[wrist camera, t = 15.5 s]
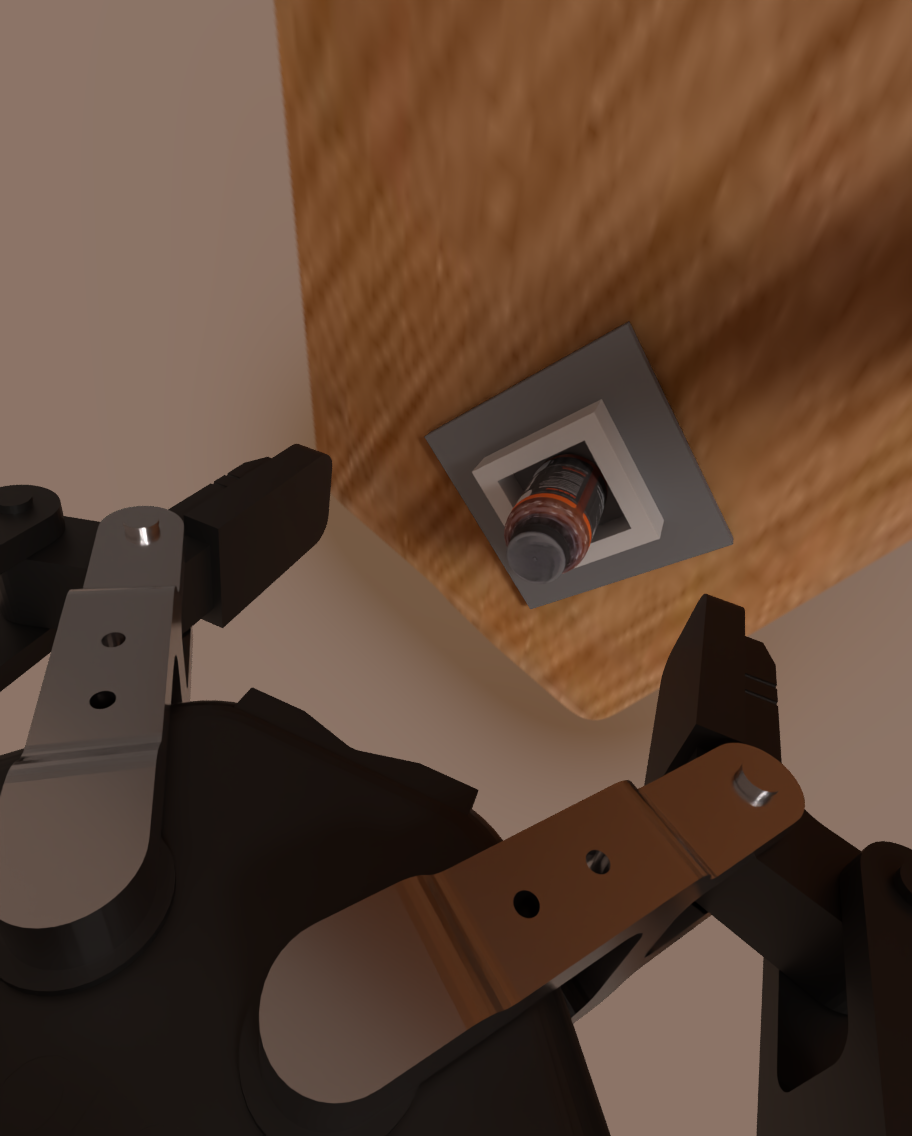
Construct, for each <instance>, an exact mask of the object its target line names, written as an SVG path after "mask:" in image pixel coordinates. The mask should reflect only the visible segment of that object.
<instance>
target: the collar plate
mask: <svg viewBox="0 0 912 1136" xmlns="http://www.w3.org/2000/svg"><path fill="white" fill-rule="evenodd" d="M425 438H426V440H427V442H428V443H429V445H430V447H431V448H432V450H433V451H434V453H435V455H436V456H437V458H438V460H439V461H440V463H441V464H442V466H443V468H444V469H445V471H446V473H447V474H448V476H449V477H450V479H451V481H452V482H453V484H454V486H455V487H456V489H457V490H458V492H459V494H460V495H461V497H462V499H463V500H464V502H465V504H466V505H467V507H468V508H469V510H470V512H471V513H472V515H473V517H474V518H475V520H476V521H477V523H478V525H479V526H480V528H481V530H482V531H483V533H484V534H485V536H486V538H487V539H488V541H489V543H490V544H491V546H492V547H493V549H494V551H495V552H496V554H497V556H498V557H499V559H500V560H501V562H502V564H503V565H504V567H505V569H506V570H507V572H508V573H509V575H510V577H511V578H512V580H513V582H514V583H515V585H516V586H517V588H518V590H519V591H520V593H521V595H522V596H523V598H524V599H525V601H526V603H527V604H528V606H529V608H530V609H533V608H536V607H539V606H542V605H545V604H549V603H552V602H555V601H558V600H561V599H564V598H567V597H570V596H573V595H577V594H580V593H583V592H586V591H589V590H592V589H595V588H598V587H601V586H605V585H608V584H611V583H614V582H617V581H620V580H623V579H626V578H630V577H633V576H636V575H639V574H642V573H645V572H648V571H651V570H654V569H658V568H661V567H664V566H667V565H670V564H673V563H676V562H679V561H682V560H686V559H689V558H692V557H695V556H698V555H701V554H704V553H707V552H710V551H714V550H717V549H720V548H723V547H726V546H729V545H732V544H733V536H732V534H731V532H730V530H729V528H728V526H727V524H726V522H725V520H724V518H723V516H722V513H721V511H720V509H719V507H718V505H717V503H716V501H715V499H714V497H713V495H712V493H711V491H710V488H709V486H708V484H707V482H706V480H705V478H704V476H703V474H702V472H701V470H700V468H699V466H698V463H697V461H696V459H695V457H694V455H693V453H692V451H691V449H690V447H689V445H688V443H687V441H686V439H685V436H684V434H683V432H682V430H681V428H680V426H679V424H678V422H677V420H676V418H675V416H674V414H673V411H672V409H671V407H670V405H669V403H668V401H667V399H666V397H665V395H664V393H663V391H662V389H661V386H660V384H659V382H658V380H657V378H656V376H655V374H654V372H653V370H652V368H651V366H650V364H649V361H648V359H647V357H646V355H645V353H644V351H643V349H642V347H641V345H640V343H639V341H638V339H637V336H636V334H635V332H634V330H633V328H632V326H631V324H630V322H627V323H625V324H623V325H621V326H620V327H618V328H616V329H614V330H612V331H611V332H609V333H607V334H605V335H603V336H602V337H600V338H598V339H596V340H594V341H593V342H591V343H589V344H587V345H586V346H584V347H582V348H580V349H578V350H577V351H575V352H573V353H571V354H569V355H568V356H566V357H564V358H562V359H560V360H559V361H557V362H555V363H553V364H551V365H550V366H548V367H546V368H544V369H543V370H541V371H539V372H537V373H535V374H534V375H532V376H530V377H528V378H526V379H525V380H523V381H521V382H519V383H517V384H516V385H514V386H512V387H510V388H509V389H507V390H505V391H503V392H501V393H500V394H498V395H496V396H494V397H492V398H491V399H489V400H487V401H485V402H483V403H482V404H480V405H478V406H476V407H474V408H473V409H471V410H469V411H467V412H466V413H464V414H462V415H460V416H458V417H457V418H455V419H453V420H451V421H449V422H448V423H446V424H444V425H442V426H440V427H439V428H437V429H435V430H433V431H431V432H430V433H428V434H427V435H426V436H425ZM563 454H573V455H578V456H582V457H584V458H586V459H588V460H590V461H592V462H593V463H594V464H595V465H596V466H597V467H598V468H599V469H600V470H601V472H602V474H603V476H604V478H605V480H606V482H607V488H608V492H607V500H606V504H605V507H604V509H603V512H602V515H601V517H600V520H599V522H598V525H597V528H596V530H595V533H594V536H593V538H592V541H591V544H590V546H589V549H588V551H587V553H586V555H585V557H584V558H583V560H582V561H581V562H580V564H579V565H577V566H576V567H575V568H574V569H572V570H570V571H568V572H566V573H563V574H561V575H560V576H559V577H558V578H557V579H556V580H554V581H553V582H550V583H546V584H533V583H529V582H527V581H524V580H522V579H521V578H519V577H518V576H517V575H516V574H515V573H514V572H513V571H512V570H511V568H510V567H509V565H508V562H507V558H506V550H507V546H506V543H505V538H504V529H505V524H506V521H507V519H508V516H509V514H510V513H511V511H512V509H513V507H514V506H515V504H516V503H517V501H518V500H519V498H520V496H521V495H522V494H523V492H524V491H525V489H526V487H527V485H528V484H529V482H530V480H531V479H532V477H533V476H534V474H535V473H536V471H537V470H538V469H539V468H540V466H541V465H542V464H543V463H544V462H546V461H547V460H549V459H551V458H553V457H555V456H558V455H563Z"/></svg>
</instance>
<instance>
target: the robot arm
mask: <svg viewBox="0 0 912 1136" xmlns="http://www.w3.org/2000/svg"><path fill="white" fill-rule="evenodd" d="M331 476H332V460H331V458H330V456H329V455H327V454H324V453H322V452H319V451H316V450H313V449H310V448H308V447H305V446H302V445H300V444H294V445H292V446H290V447H289V448H287V449H286V450H284V451H282V452H281V453H279V454H278V455H276V456H275V457H273V458H269V457H265V458H261V459H258V460H254V461H250V462H246V463H243V464H242V465H240V466H239V467H237V468H235V469H234V470H232V471H231V472H229V473H228V475H227V476H225V475H224V476H222V477H221V478H219V479H217V480H216V481H214V484H209V485H208V486H206V487H204V488H203V489H201V490H199V491H198V492H196V493H194V494H193V495H191V496H190V497H188V498H186V499H185V500H183V501H182V502H180V503H178V504H177V505H175V506H173V507H172V508H170V509H168V510H167V509H164V508H160V507H154V506H136V507H129V508H124V509H121V510H118V511H116V512H113V513H111V514H110V515H108V516H106V517H105V518H104V519H103V520H102V521H101V522H97V521H90V520H85V519H78V518H72V517H66V516H63V511H62V507H61V502H60V499H59V497H58V496H57V494H56V493H54V492H53V491H51V490H49V489H46V488H43V487H39V486H33V485H10V486H4V487H0V692H1V691H2V690H3V689H4V688H6V687H7V686H8V685H10V684H11V683H12V682H13V681H15V680H16V679H17V678H18V677H20V676H21V675H22V674H24V673H25V672H26V671H27V670H29V669H30V668H31V667H32V666H34V665H35V664H36V663H38V662H39V661H40V660H41V659H42V658H44V657H45V656H46V655H48V654H49V653H50V652H51V654H50V658H49V662H48V665H47V669H46V672H45V676H44V680H43V683H42V687H41V691H40V694H39V698H38V701H37V705H36V709H35V713H34V716H33V720H32V723H31V727H30V731H29V734H28V738H27V742H26V745H25V748H24V749H21V750H17V751H14V752H11V753H7V754H4V755H0V1136H611V1135H610V1132H609V1130H608V1126H607V1123H606V1120H605V1118H604V1115H603V1112H602V1109H601V1106H600V1103H599V1100H598V1097H597V1094H596V1091H595V1088H594V1085H593V1082H592V1079H591V1076H590V1073H589V1070H588V1067H587V1064H586V1062H585V1059H584V1055H583V1052H582V1049H581V1046H580V1044H579V1041H578V1037H577V1034H576V1031H575V1029H574V1026H573V1023H575V1022H576V1021H577V1020H579V1019H580V1018H581V1017H583V1016H584V1015H585V1014H587V1013H588V1012H589V1011H591V1010H592V1009H593V1008H594V1007H596V1006H597V1005H598V1004H600V1003H601V1002H602V1001H603V1000H604V999H605V998H607V997H608V996H609V995H610V994H611V993H612V992H614V991H615V990H616V989H617V988H618V987H619V986H620V985H621V984H622V983H623V982H624V981H625V980H626V979H627V978H629V977H630V976H631V975H632V974H633V973H634V972H636V971H637V970H638V969H639V968H641V967H642V966H643V965H645V964H646V963H648V962H649V961H650V960H652V959H653V958H654V957H655V956H657V955H658V954H660V953H661V952H662V951H664V950H665V949H666V948H668V947H669V946H670V945H672V944H673V943H674V942H676V941H677V940H679V939H680V938H681V937H683V936H684V935H685V934H687V933H688V932H689V931H691V930H692V929H693V928H695V927H696V926H697V925H698V924H700V923H701V922H703V921H704V920H705V919H707V918H708V917H710V916H711V915H713V916H714V917H715V918H716V919H718V920H719V921H720V922H721V923H723V924H724V925H725V926H726V927H727V928H729V929H730V930H731V931H732V932H734V933H735V934H736V935H737V936H739V937H740V938H741V939H742V940H743V941H745V942H746V943H747V944H748V945H750V946H751V947H752V948H753V949H754V950H756V951H757V952H758V953H759V954H761V955H762V956H763V957H764V961H763V988H762V1012H761V1037H760V1064H759V1066H760V1067H759V1088H758V1089H759V1090H758V1114H757V1136H912V850H911V849H909V848H907V847H905V846H902V845H899V844H896V843H892V842H885V841H881V842H875V843H872V844H870V845H868V846H867V847H866V848H865V849H863V850H862V851H860V850H858V849H857V848H856V847H854V846H853V845H851V844H850V843H848V842H847V841H845V840H844V839H842V838H841V837H839V836H838V835H836V834H835V833H834V832H832V831H831V830H829V829H828V828H826V827H825V826H824V825H822V824H821V823H820V822H818V821H817V820H816V819H815V818H813V817H812V816H811V815H810V814H809V813H808V812H807V811H806V810H805V809H804V808H805V800H804V796H803V792H802V790H801V788H800V785H799V784H798V782H797V781H796V779H795V778H794V776H793V775H792V774H791V772H790V771H789V770H788V769H787V768H786V767H785V766H784V765H783V764H782V762H781V747H780V731H779V714H778V706H777V702H778V698H777V689H776V685H777V681H776V666H775V663H774V661H773V659H772V658H771V656H770V655H769V652H768V651H767V649H766V647H765V645H764V644H763V643H762V642H760V641H757V640H754V639H752V638H749V637H746V636H745V609H744V608H743V607H741V606H738V605H735V604H733V603H730V602H727V601H724V600H722V599H719V598H716V597H713V596H711V595H708V594H704V595H703V596H702V597H701V598H700V600H699V601H698V603H697V605H696V607H695V609H694V611H693V612H692V614H691V616H690V618H689V620H688V622H687V623H686V625H685V627H684V629H683V631H682V633H681V635H680V636H679V638H678V640H677V642H676V644H675V646H674V648H673V649H672V651H671V653H670V656H669V658H668V660H667V663H666V665H665V668H664V671H663V675H662V679H661V684H660V690H659V696H658V703H657V709H656V715H655V721H654V728H653V734H652V741H651V747H650V753H649V760H648V766H647V772H646V778H645V785H644V786H643V787H641V788H639V789H637V788H636V787H635V786H634V784H633V783H632V782H631V781H629V780H625V781H621V782H618V783H616V784H613V785H612V786H610V787H607V788H605V789H604V790H602V791H600V792H598V793H596V794H594V795H592V796H590V797H588V798H586V799H584V800H582V801H580V802H578V803H576V804H574V805H572V806H570V807H568V808H566V809H565V810H562V811H560V812H559V813H557V814H555V815H553V816H551V817H549V818H547V819H545V820H543V821H541V822H539V823H537V824H535V825H533V826H531V827H529V828H527V829H525V830H523V831H521V832H519V833H517V834H516V835H514V836H512V837H510V838H508V839H506V840H504V841H503V840H502V839H501V837H500V836H499V835H498V834H497V832H496V831H495V830H494V829H493V828H492V827H491V826H490V825H489V824H488V823H487V822H486V821H485V820H484V819H483V818H482V817H481V816H480V815H479V814H477V813H476V812H475V811H474V810H472V807H473V804H474V802H475V799H476V796H477V793H478V790H477V789H475V788H473V787H471V786H469V785H466V784H464V783H462V782H460V781H457V780H455V779H453V778H451V777H449V776H447V775H444V774H442V773H440V772H437V771H435V770H433V769H431V768H429V767H427V766H424V765H422V764H420V763H415V762H411V761H406V760H401V759H396V758H392V757H386V756H382V755H377V754H372V753H367V752H362V751H358V750H355V749H353V748H351V747H349V746H348V745H346V744H345V743H344V742H343V741H341V740H340V739H339V738H338V737H336V736H335V735H334V734H333V733H331V732H330V731H329V730H327V729H326V728H325V727H324V726H323V725H321V724H320V723H319V722H318V721H316V720H315V719H314V718H313V717H311V716H310V715H309V714H307V713H306V712H305V711H303V710H301V709H299V708H296V707H294V706H292V705H290V704H288V703H285V702H283V701H281V700H279V699H276V698H274V697H272V696H270V695H268V694H266V693H263V692H261V691H259V690H257V689H255V688H251V689H250V690H249V691H248V692H247V693H246V694H245V695H244V696H243V697H242V698H241V700H240V701H239V702H238V703H235V702H226V701H193V702H190V690H191V669H192V647H193V631H192V626H193V625H194V624H195V623H197V622H198V621H199V620H200V619H203V620H205V621H208V622H210V623H212V624H214V625H217V626H219V627H221V628H223V627H225V626H226V625H227V624H228V623H229V622H230V621H231V620H232V619H233V618H234V617H236V616H237V615H238V614H239V613H240V612H241V611H242V610H243V609H244V608H245V607H247V606H248V605H249V604H250V603H251V602H252V601H253V600H254V599H256V598H257V597H258V596H259V595H260V594H261V593H262V592H263V591H264V590H265V589H266V588H268V587H269V586H270V585H271V584H272V583H273V582H274V581H275V580H276V579H278V578H279V577H280V576H281V575H282V574H283V573H284V572H285V571H287V570H288V569H289V568H290V567H291V566H292V565H293V564H294V563H295V562H296V561H298V560H299V559H300V558H301V557H302V556H303V555H304V554H305V553H306V552H307V551H309V550H310V549H311V548H312V547H313V546H314V545H315V544H316V543H317V542H318V541H319V540H320V538H321V536H322V534H323V533H324V530H325V528H326V525H327V521H328V514H329V500H330V488H331Z"/></svg>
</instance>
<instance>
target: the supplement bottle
mask: <svg viewBox="0 0 912 1136" xmlns="http://www.w3.org/2000/svg"><path fill="white" fill-rule="evenodd" d="M607 492H608V488H607V482H606V480H605V478H604V476H603V474H602V472H601V470H600V469H599V468H598V467H597V466H596V465H595V464H594V463H593V462H592V461H590V460H588V459H586V458H584V457H582V456H578V455H573V454H563V455H558V456H555V457H553V458H551V459H549V460H547V461H546V462H544V463H543V464H542V465H541V466H540V468H539V469H538V470H537V471H536V473H535V474H534V476H533V477H532V479H531V480H530V482H529V484H528V485H527V487H526V489H525V491H524V492H523V494H522V495H521V496H520V498H519V500H518V501H517V503H516V504H515V506H514V507H513V509H512V511H511V513H510V514H509V516H508V519H507V521H506V524H505V529H504V538H505V543H506V546H507V550H506V558H507V562H508V565H509V567H510V568H511V570H512V571H513V572H514V573H515V574H516V575H517V576H518V577H519V578H521V579H522V580H524V581H527V582H529V583H533V584H546V583H550V582H553V581H554V580H556V579H557V578H558V577H559V576H560V575H561V574H563V573H566V572H568V571H570V570H572V569H574V568H575V567H576V566H577V565H579V564H580V562H581V561H582V560H583V558H584V557H585V555H586V553H587V551H588V549H589V546H590V544H591V541H592V538H593V536H594V533H595V530H596V528H597V525H598V522H599V520H600V517H601V515H602V512H603V509H604V507H605V504H606V500H607Z"/></svg>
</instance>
